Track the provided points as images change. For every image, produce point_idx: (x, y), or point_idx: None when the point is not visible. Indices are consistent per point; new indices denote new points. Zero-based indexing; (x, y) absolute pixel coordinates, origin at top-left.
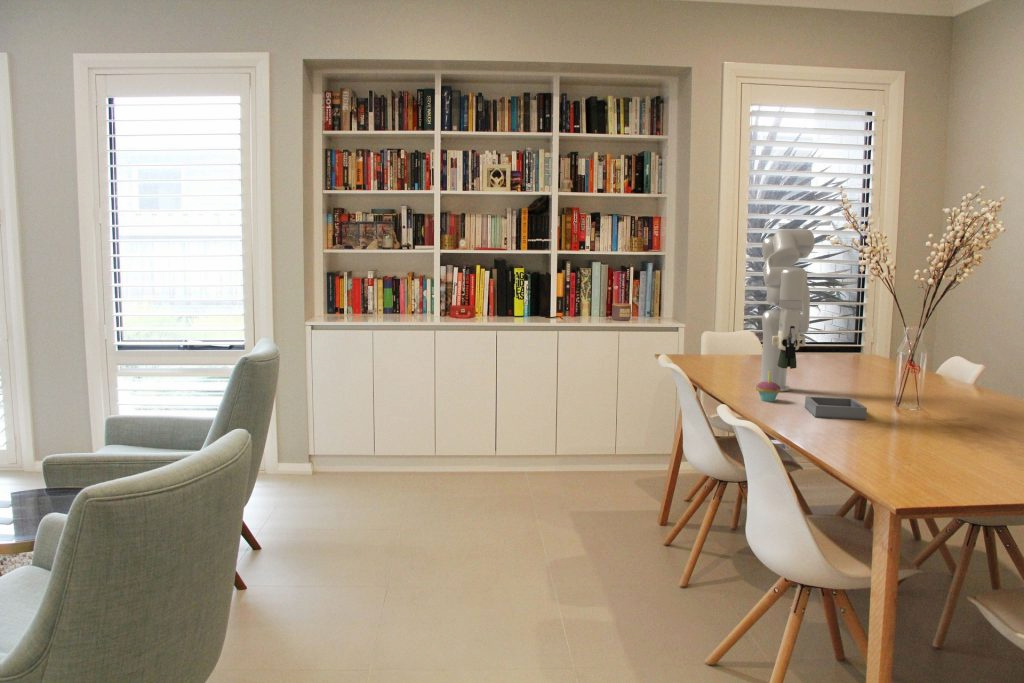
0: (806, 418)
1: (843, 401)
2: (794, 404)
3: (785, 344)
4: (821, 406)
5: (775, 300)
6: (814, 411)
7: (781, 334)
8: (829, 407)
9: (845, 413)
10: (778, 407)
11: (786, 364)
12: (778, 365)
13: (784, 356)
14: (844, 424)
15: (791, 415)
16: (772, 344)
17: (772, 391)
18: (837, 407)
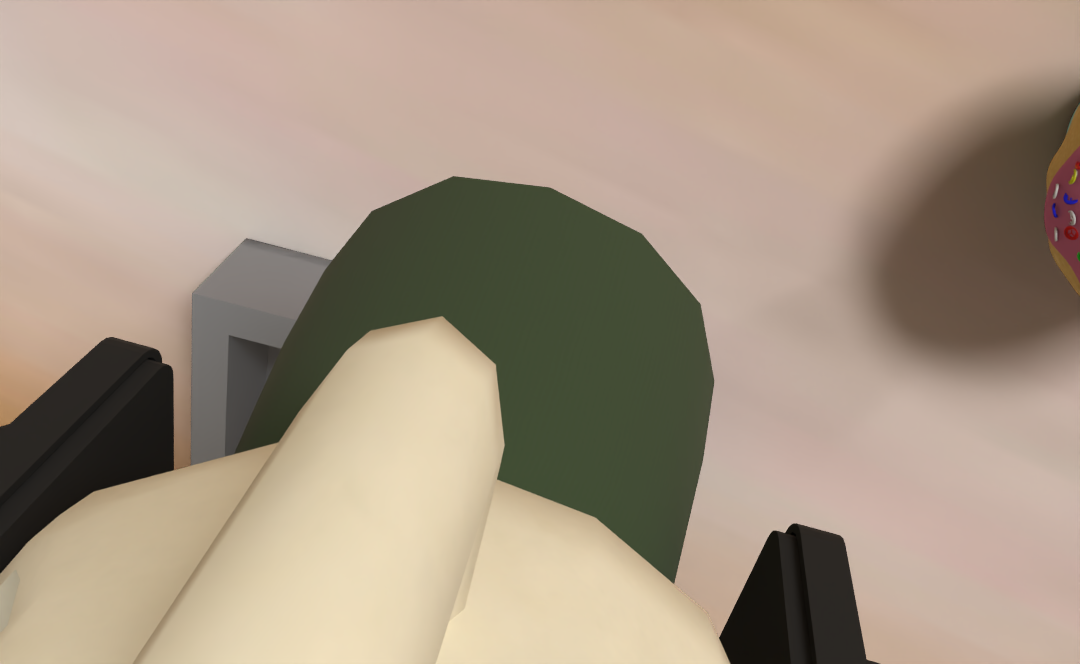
0: (191, 137)
1: None
2: (860, 329)
3: None
4: (193, 336)
5: None
6: (267, 271)
7: None
8: (196, 395)
9: None
10: (727, 80)
11: (300, 315)
12: (492, 193)
13: (275, 395)
14: (32, 345)
15: (307, 41)
16: (414, 329)
17: (1054, 169)
18: (194, 454)
